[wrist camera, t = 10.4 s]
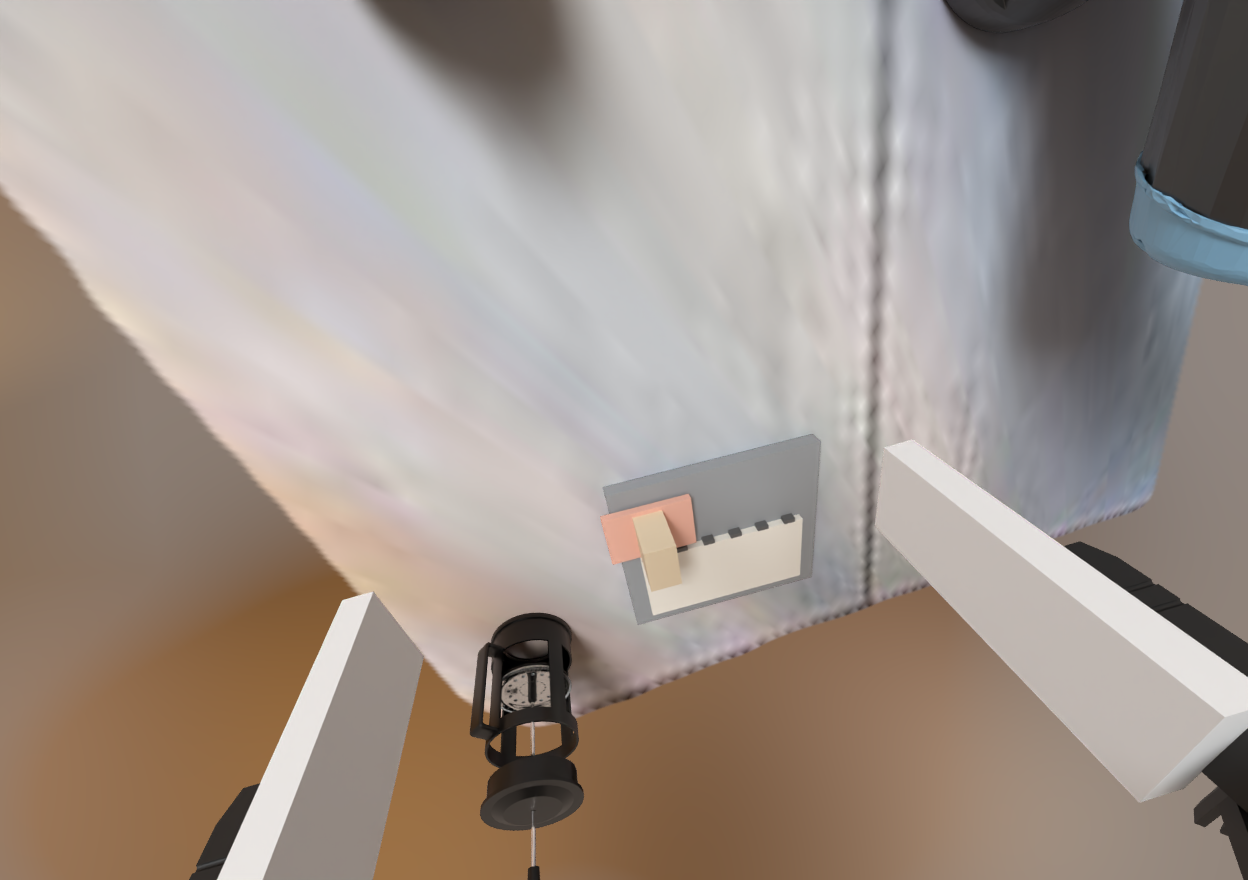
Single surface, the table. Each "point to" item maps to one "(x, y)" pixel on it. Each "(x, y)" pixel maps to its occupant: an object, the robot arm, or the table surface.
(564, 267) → the table surface
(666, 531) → the stub
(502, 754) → the french press
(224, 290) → the table surface
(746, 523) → the board
